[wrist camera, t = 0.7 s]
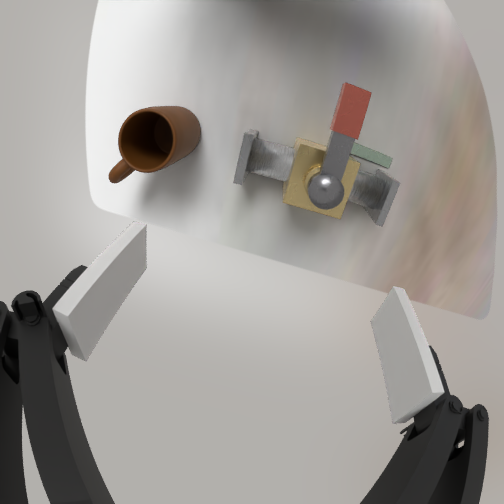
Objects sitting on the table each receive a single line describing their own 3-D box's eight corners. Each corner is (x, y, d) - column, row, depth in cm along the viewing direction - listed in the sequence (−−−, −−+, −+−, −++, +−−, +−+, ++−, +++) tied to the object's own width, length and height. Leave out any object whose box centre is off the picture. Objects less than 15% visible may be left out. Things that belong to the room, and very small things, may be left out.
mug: (153, 186, 38) (121, 208, 30) (124, 149, 35) (86, 163, 27) (213, 135, 34) (191, 145, 25) (180, 95, 31) (149, 92, 23)
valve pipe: (254, 112, 31) (246, 113, 24) (392, 157, 32) (419, 173, 24) (239, 174, 36) (227, 193, 28) (370, 213, 36) (390, 240, 29)
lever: (337, 82, 21) (341, 80, 20) (371, 95, 21) (376, 94, 20) (302, 198, 27) (303, 203, 26) (334, 208, 28) (337, 213, 26)
